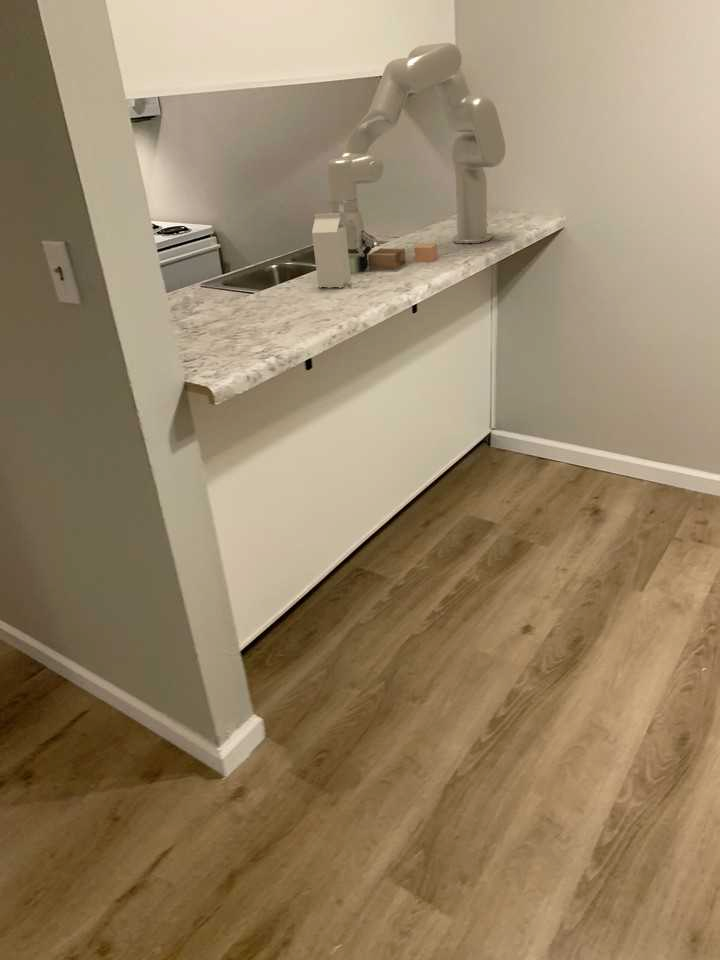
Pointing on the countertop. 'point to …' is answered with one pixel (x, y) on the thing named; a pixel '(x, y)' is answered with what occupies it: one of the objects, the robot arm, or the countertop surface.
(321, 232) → the milk carton
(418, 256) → the terracotta brick
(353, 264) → the sage brick
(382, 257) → the walnut brick
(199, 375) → the countertop surface
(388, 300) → the countertop surface
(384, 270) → the build plate
